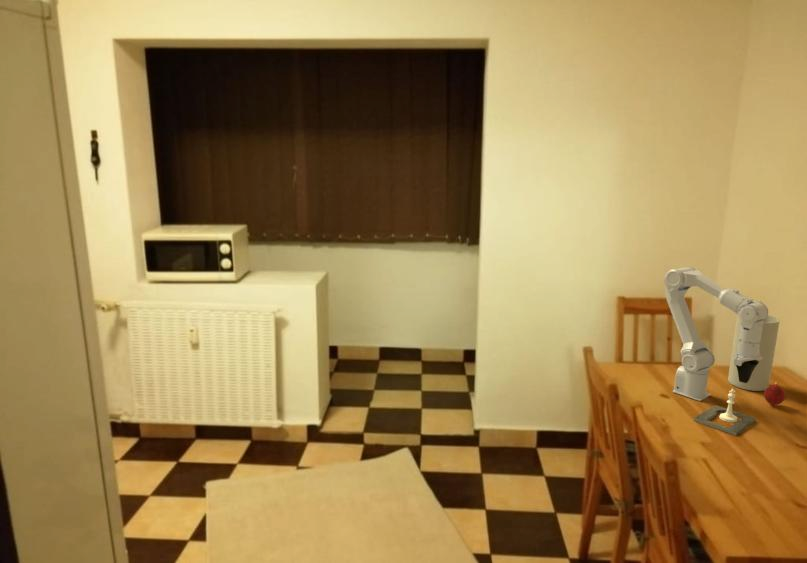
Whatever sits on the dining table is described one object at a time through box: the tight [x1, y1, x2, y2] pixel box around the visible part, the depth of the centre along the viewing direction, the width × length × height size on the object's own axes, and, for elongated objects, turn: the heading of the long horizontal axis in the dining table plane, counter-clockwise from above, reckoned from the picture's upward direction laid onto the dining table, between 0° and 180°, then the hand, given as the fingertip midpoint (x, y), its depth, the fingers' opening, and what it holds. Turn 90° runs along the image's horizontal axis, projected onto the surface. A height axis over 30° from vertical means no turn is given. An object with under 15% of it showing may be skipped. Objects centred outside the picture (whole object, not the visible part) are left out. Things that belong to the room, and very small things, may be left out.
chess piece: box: [718, 388, 739, 423], centre depth 173 cm, size 5×5×10 cm
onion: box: [763, 382, 786, 406], centre depth 182 cm, size 6×6×8 cm
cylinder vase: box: [727, 313, 780, 392], centre depth 197 cm, size 12×12×25 cm
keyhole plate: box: [693, 404, 757, 437], centre depth 172 cm, size 14×12×1 cm
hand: (743, 381), depth 176 cm, fingers closed
